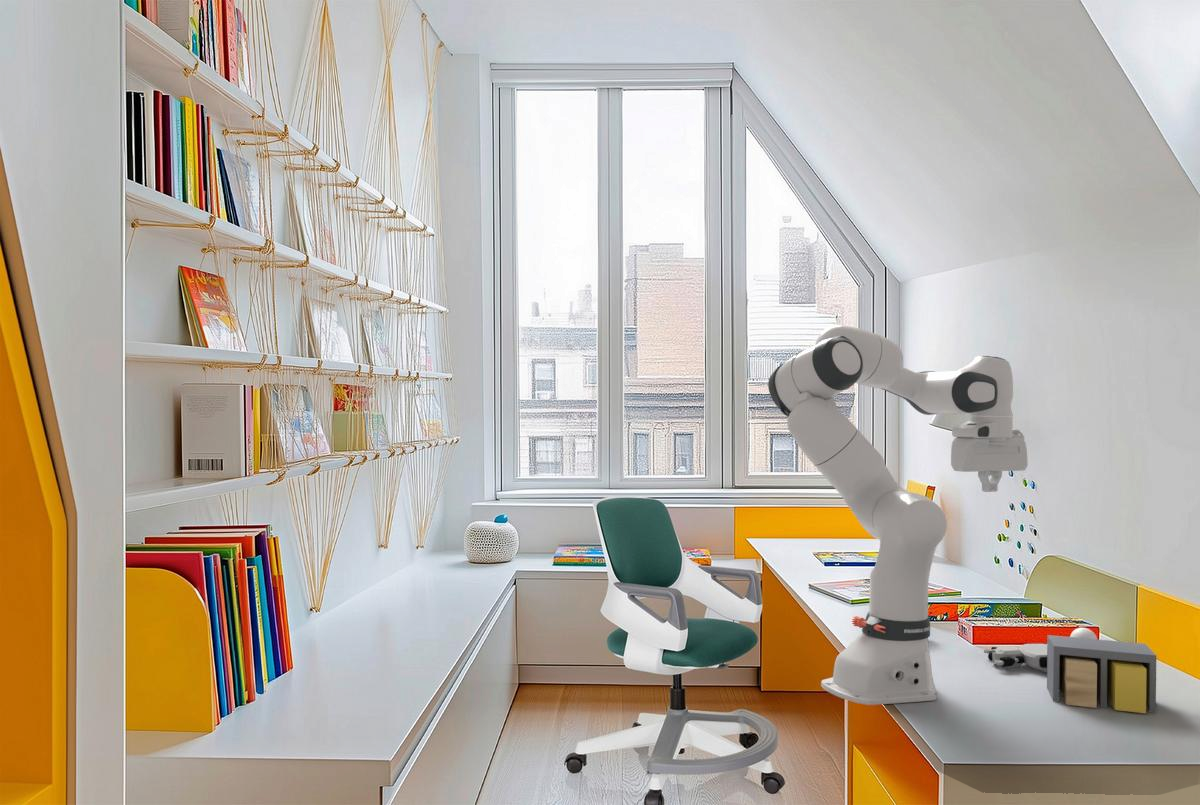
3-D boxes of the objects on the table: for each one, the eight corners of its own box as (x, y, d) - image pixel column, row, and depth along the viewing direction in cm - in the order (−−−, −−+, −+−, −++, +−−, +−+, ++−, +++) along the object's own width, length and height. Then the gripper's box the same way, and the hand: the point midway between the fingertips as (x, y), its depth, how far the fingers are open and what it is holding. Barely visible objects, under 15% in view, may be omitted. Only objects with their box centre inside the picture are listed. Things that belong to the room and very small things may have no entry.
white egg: (1086, 656, 204) (1086, 631, 204) (1064, 650, 209) (1064, 626, 209) (1109, 653, 207) (1109, 629, 207) (1087, 647, 212) (1087, 623, 212)
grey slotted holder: (1155, 712, 166) (1156, 655, 166) (1053, 701, 172) (1053, 646, 172) (1144, 698, 175) (1145, 643, 175) (1046, 687, 181) (1047, 635, 181)
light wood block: (1096, 707, 168) (1097, 664, 168) (1066, 704, 169) (1066, 661, 169) (1089, 695, 175) (1089, 653, 175) (1060, 691, 177) (1060, 650, 177)
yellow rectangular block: (1146, 713, 165) (1146, 669, 165) (1114, 709, 167) (1115, 666, 167) (1136, 700, 173) (1136, 658, 173) (1106, 696, 174) (1107, 655, 174)
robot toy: (996, 678, 190) (1073, 677, 188) (994, 656, 190) (1071, 655, 188) (981, 661, 202) (1053, 660, 200) (980, 641, 202) (1052, 640, 200)
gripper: (1011, 429, 209) (1010, 489, 209) (946, 428, 200) (945, 491, 200) (1035, 430, 203) (1034, 491, 203) (969, 429, 195) (968, 494, 195)
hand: (989, 491), depth 202 cm, fingers closed
